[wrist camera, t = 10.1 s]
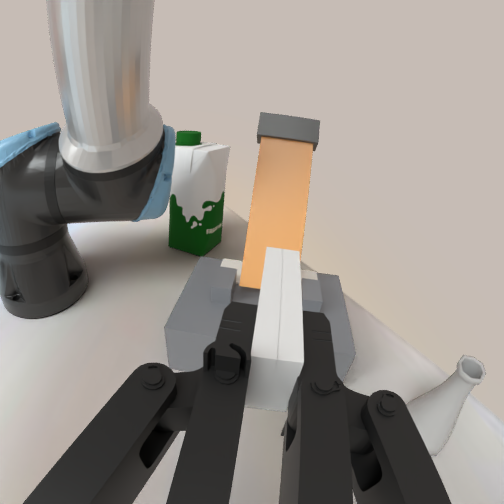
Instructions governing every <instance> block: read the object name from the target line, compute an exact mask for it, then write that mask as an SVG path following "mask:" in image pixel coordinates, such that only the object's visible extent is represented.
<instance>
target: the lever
mask: <svg viewBox="0 0 504 504" xmlns="http://www.w3.org/2000/svg"><path fill="white" fill-rule="evenodd" d="M319 125H320V121H319V120H313V119H307V118H300V117H293V116H287V115H279V114H271V113H263V112H261V113H260V119H259V125H258V132H257V143H260V149H259V156H258V162H257V169H256V176H255V182H254V189H253V196H252V203H251V209H250V216H249V222H248V229H247V236H246V243H245V250H244V257H243V263H242V270H241V277H240V284H239V286H243V287H250V288H257V289H261V282H262V275H263V268H264V261H265V255H266V248H267V247H273V248H280V249H287V250H294V251H299V253H300V260H301V251H302V244H303V236H304V228H305V220H306V211H307V202H308V193H309V184H310V174H311V163H312V153H313V151H315V150H316V147H317V145H318V139H319Z"/></svg>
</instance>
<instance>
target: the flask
mask: <svg viewBox="0 0 504 504" xmlns="http://www.w3.org/2000/svg"><path fill="white" fill-rule="evenodd" d="M485 375H486V372H485V368H484V365H483V363H481V362H480V361H478V360H477V359H476V358H475V357H472V356H467V355H463V356H462V357H461V359H460V360H459V362H458V363H457V370H456V371H455V372H454V373H453V374H452V375H451V376H450V377H449V378H448V379H447V380H446V381H445V382H444V383H442V384H441V385H439V386H437V387H436V388H434V389H432V390H431V391H429V392H427V393H426V394H424V395H422V396H420V397H418V398H416V399H414V400H412V401H410V402H409V403H408V404H407V405H406V407H407V409H408V410H409V412H410V414H411V416H412V418H413V421H414V423H415V425H416V427H417V429H418V431H419V433H420V435H421V437H422V439H423V441H424V443H425V445H426V447H427V450H428V452H429V454H430V455H431V456H436V455H437V454H438V453H439V452H440V450H441V449H442V448H443V446H444V445H445V443H446V442H447V441H448V439H449V437H450V435H451V433H452V430H453V428H454V425H455V423H456V420H457V418H458V416H459V413H460V411H461V409H462V406H463V404H464V401H465V400H466V398H467V396H468V394H469V393H470V391H471V390H472V389H473V388H474V386H475V385H479V384H480V383H481V382H482V380H483V378H484V377H485Z"/></svg>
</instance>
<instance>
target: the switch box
mask: <svg viewBox="0 0 504 504" xmlns="http://www.w3.org/2000/svg"><path fill="white" fill-rule="evenodd" d="M242 263H243V261H239V260H232V259H225V258H223V259H216V258H209V257H202V256H201V257H200V259H199V260H198V262H197V264H196V266H195V268H194V270H193V272H192V274H191V276H190V278H189V280H188V282H187V283H186V285H185V287H184V289H183V291H182V293H181V295H180V297H179V299H178V301H177V303H176V305H175V307H174V309H173V311H172V313H171V315H170V317H169V319H168V321H167V323H166V325H165V327H164V329H165V338H166V347H167V355H168V362H169V368H172V369H176V370H181V371H185V372H191V371H195V370H198V369H200V368H202V367H203V352H204V350H205V348H206V347H207V346H208V345H209V344H211V343H212V342H214V341H215V339H216V336H217V332H218V329H219V325H220V322H221V319H222V315H223V312H224V309H225V308H226V307H227V306H228V305H229V304H230V303H231V302H232V301H234V302H240V303H247V304H254V305H258V302H259V295H260V289H257V288H250V287H243V286H239V284H240V277H241V270H242ZM300 270H301V290H302V310H303V311H311V312H320V313H324V314H325V316H326V317H327V319H328V320H329V322H330V326H331V334H332V343H333V348H334V357H335V365H336V373H337V376H338V377H339V378H340V380H341V381H342V382H343V380H344V378H345V376H346V374H347V372H348V370H349V368H350V366H351V364H352V361H353V359H354V357H355V355H356V352H355V347H354V342H353V337H352V332H351V328H350V323H349V319H348V314H347V310H346V305H345V301H344V297H343V292H342V288H341V284H340V280H339V276H337V275H330V274H322V273H317V272H316V271H310V270H303V269H300Z"/></svg>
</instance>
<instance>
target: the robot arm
mask: <svg viewBox="0 0 504 504" xmlns="http://www.w3.org/2000/svg"><path fill="white" fill-rule="evenodd" d="M46 3H47V15H48V24H49V33H50V41H51V48H52V55H53V61H54V67H55V73H56V78H57V83H58V88H59V93H60V97H61V101H62V106H63V110H64V115H65V119H66V124H65V125H64V127H63V129H62V131H61V128H60V127H59V124H58V123H57V122H55V123H51V124H48V125H44V126H41V127H38V128H35V129H32V130H29V131H26V132H23V133H20V134H17V135H15V136H11V137H9V138H6V139H3V140H1V141H0V296H1V298H2V301H3V304H4V306H5V308H6V309H7V310H8V311H9V312H10V313H11V314H13V315H15V316H18V317H22V318H41V317H46V316H49V315H52V314H55V313H58V312H60V311H62V310H64V309H66V308H67V307H69V306H70V305H72V304H73V303H74V302H75V301H77V300H78V299H79V298H80V297H81V295H82V294H83V293H84V291H85V289H86V287H87V284H88V276H87V271H86V266H85V263H84V261H83V259H82V257H81V255H80V253H79V252H78V250H77V248H76V246H75V244H74V242H73V240H72V239H71V237H70V235H69V232H68V227H67V224H68V223H69V224H70V223H85V222H106V221H132V222H138V221H140V220H145V219H155V218H158V217H160V216H161V215H162V214H163V213H164V212H165V210H166V208H167V205H168V201H169V197H170V191H171V184H172V174H173V168H174V159H175V132H174V129H173V128H172V127H170V126H166V125H163V121H162V118H161V115H160V113H159V112H158V110H157V109H155V107H154V106H152V105H151V104H149V73H150V51H151V34H152V21H153V10H154V0H46ZM60 131H61V133H60ZM244 407H249V408H256V409H264V410H272V411H282V412H286V410H287V408H288V418H287V420H286V422H285V425H284V427H283V430H282V432H281V436H284V444H283V459H282V472H281V485H280V496H279V504H353V492H354V495H355V498H356V501H357V504H451V502H450V499H449V497H448V494H447V492H446V490H445V487H444V485H443V483H442V480H441V478H440V476H439V474H438V471H437V469H436V467H435V465H434V463H433V460H432V458H431V456H430V454H429V452H428V450H427V447H426V445H425V443H424V441H423V439H422V437H421V435H420V433H419V431H418V429H417V427H416V425H415V423H414V421H413V418H412V416H411V414H410V412H409V410H408V409H407V407H406V405H405V403H404V401H403V400H402V399H401V397H400V396H398V395H397V394H396V393H394V392H391V391H388V390H379V391H377V392H374V393H373V394H372V395H371V396H370V397H369V396H366V395H363V394H360V393H357V392H354V391H352V390H350V389H348V388H347V387H345V386H344V385H343V383H342V381H341V380H340V378H339V377H338V376H337V373H336V365H335V357H334V348H333V343H332V334H331V326H330V322H329V320H328V319H327V317H326V316H325V314H324V313H320V312H311V311H303V310H302V290H301V270H300V253H299V251H294V250H287V249H280V248H273V247H267V248H266V255H265V261H264V268H263V275H262V282H261V289H260V295H259V302H258V305H254V304H247V303H240V302H234V301H232V302H231V303H230V304H229V305H228V306H227V307H226V308H225V309H224V312H223V315H222V319H221V322H220V325H219V329H218V332H217V336H216V339H215V341H214V342H212V343H211V344H209V345H208V346H207V347H206V348H205V350H204V352H203V367H202V368H200V369H198V370H195V371H191V372H180V373H173V371H172V370H171V369H170V368H169V367H167V366H166V365H164V364H160V363H147V364H144V365H141V366H139V367H138V368H137V369H136V370H134V372H133V373H132V374H131V375H130V376H129V377H128V379H127V380H126V381H125V382H124V383H123V384H122V386H121V387H120V388H119V389H118V390H117V392H116V393H115V394H114V395H113V396H112V397H111V399H110V400H109V401H108V402H107V403H106V404H105V406H104V407H103V408H102V409H101V410H100V411H99V413H98V414H97V415H96V416H95V417H94V419H93V420H92V421H91V422H90V423H89V425H88V426H87V427H86V428H85V429H84V430H83V432H82V433H81V434H80V435H79V436H78V438H77V439H76V440H75V441H74V442H73V444H72V445H71V446H70V447H69V448H68V450H67V451H66V452H65V453H64V454H63V455H62V457H61V458H60V459H59V460H58V461H57V463H56V464H55V465H54V466H53V468H52V469H51V470H50V471H49V472H48V474H47V475H46V476H45V477H44V478H43V480H42V481H41V482H40V483H39V484H38V486H37V487H36V488H35V489H34V491H33V492H32V493H31V494H30V495H29V497H28V498H27V499H26V500H25V501H24V503H23V504H132V503H133V502H134V500H135V499H136V497H137V496H138V494H139V493H140V491H141V490H142V488H143V487H144V485H145V484H146V482H147V481H148V479H149V478H150V476H151V475H152V473H153V472H154V470H155V469H156V467H157V466H158V464H159V463H160V461H161V460H162V458H163V456H164V455H165V453H166V452H167V450H168V449H169V447H170V446H171V444H172V443H173V441H174V439H175V438H176V436H177V435H178V433H179V432H180V431H186V433H185V437H184V441H183V444H182V448H181V451H180V455H179V459H178V462H177V466H176V469H175V473H174V477H173V480H172V484H171V488H170V492H169V495H168V499H167V503H166V504H229V499H230V493H231V487H232V481H233V475H234V469H235V463H236V457H237V450H238V444H239V438H240V431H241V425H242V418H243V412H244ZM352 489H353V491H352Z"/></svg>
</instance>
